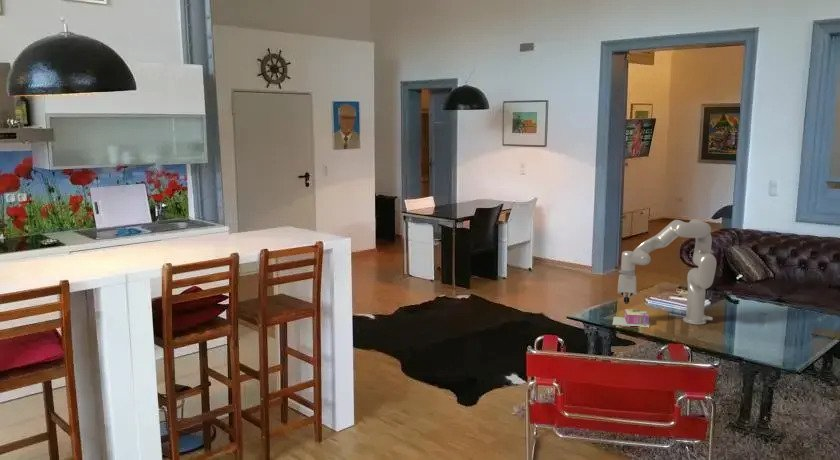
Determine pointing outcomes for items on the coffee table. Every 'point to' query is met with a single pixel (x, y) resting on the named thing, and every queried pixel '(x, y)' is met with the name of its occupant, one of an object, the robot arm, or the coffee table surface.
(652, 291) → the coffee table surface
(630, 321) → the box
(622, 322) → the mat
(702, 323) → the robot arm
